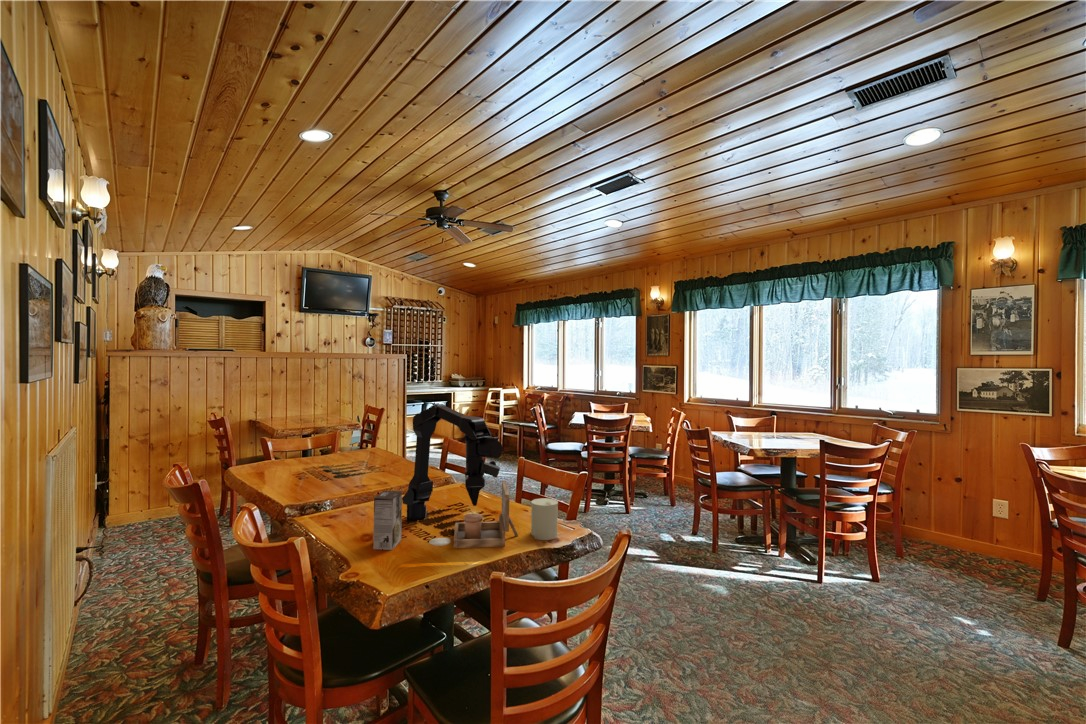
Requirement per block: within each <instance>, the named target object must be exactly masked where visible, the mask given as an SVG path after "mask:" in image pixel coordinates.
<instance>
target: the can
mask: <svg viewBox="0 0 1086 724" xmlns="http://www.w3.org/2000/svg"><path fill="white" fill-rule="evenodd" d="M558 507H559V501H558V499H557V500H556V499H554V498H548V497H545V498H544V497H543V498H542V497H541V498H534V499H532V500H531V514H530V515H531V518H530V519H531V521H530V523H531V524H530V525H531V526H530V527H531V528H530V534H531V536H533V538H534V540H538V541H539V540H540V541H550V540H551V541H552V540H556V538H558V536H559V535H558V516H559V515H558V513H559V512H558V511H559V510H558V509H559V508H558Z"/></svg>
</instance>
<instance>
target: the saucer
mask: <svg viewBox="0 0 1086 724" xmlns="http://www.w3.org/2000/svg"><path fill="white" fill-rule="evenodd" d="M451 542H452V540H451V539H450V538H447V537H435V538H432V539H430V540H429V541H428V543H429V545H432V546H439V547H440V546H441V547H442V546H446V545H449V544H450V543H451Z"/></svg>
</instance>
